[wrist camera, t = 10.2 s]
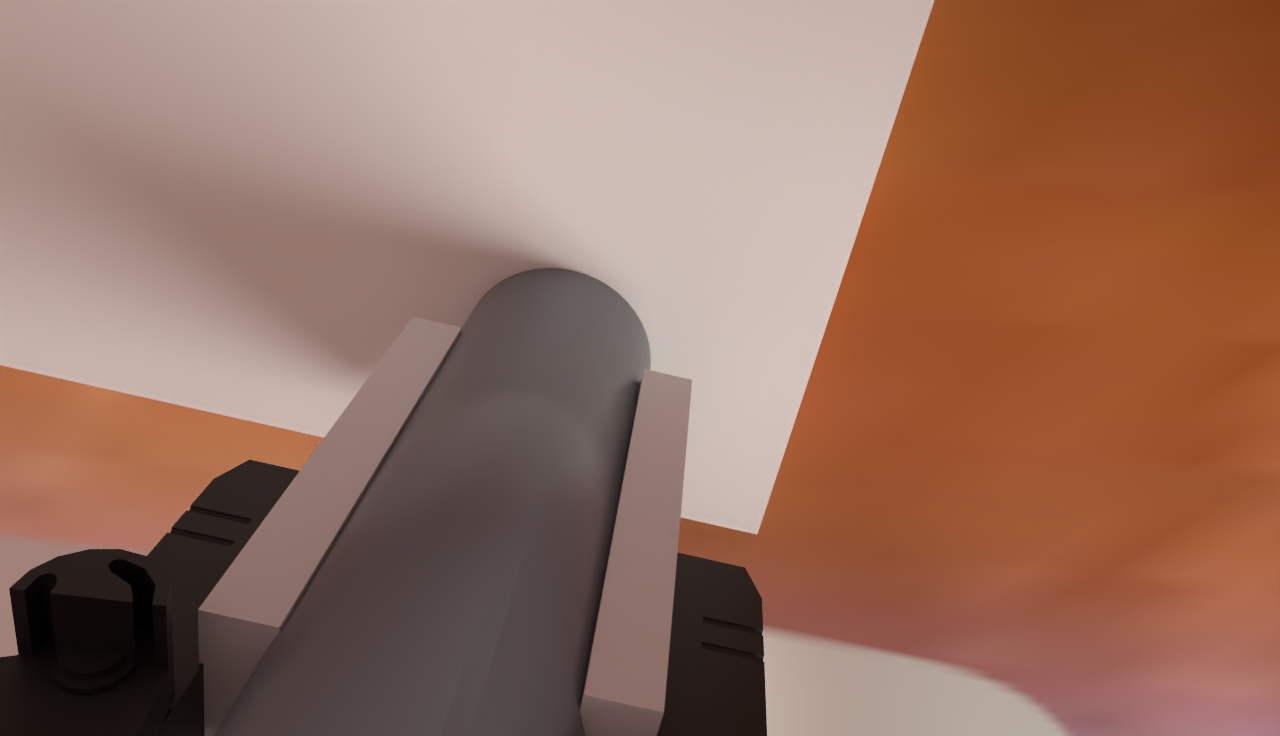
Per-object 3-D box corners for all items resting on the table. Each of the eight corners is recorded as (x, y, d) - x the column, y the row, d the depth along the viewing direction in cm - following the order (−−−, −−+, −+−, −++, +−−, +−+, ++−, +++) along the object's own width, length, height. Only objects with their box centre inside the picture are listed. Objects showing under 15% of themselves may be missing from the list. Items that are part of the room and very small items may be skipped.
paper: (756, 525, 18) (757, 534, 17) (-90, 334, 17) (-103, 342, 17) (999, -214, 12) (1005, -215, 12) (-236, -506, 12) (-258, -515, 12)
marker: (672, 430, 17) (534, 1686, 5) (487, 452, 17) (-21, 1627, 6) (636, 248, 15) (317, 1432, 4) (434, 278, 16) (-407, 1391, 4)
